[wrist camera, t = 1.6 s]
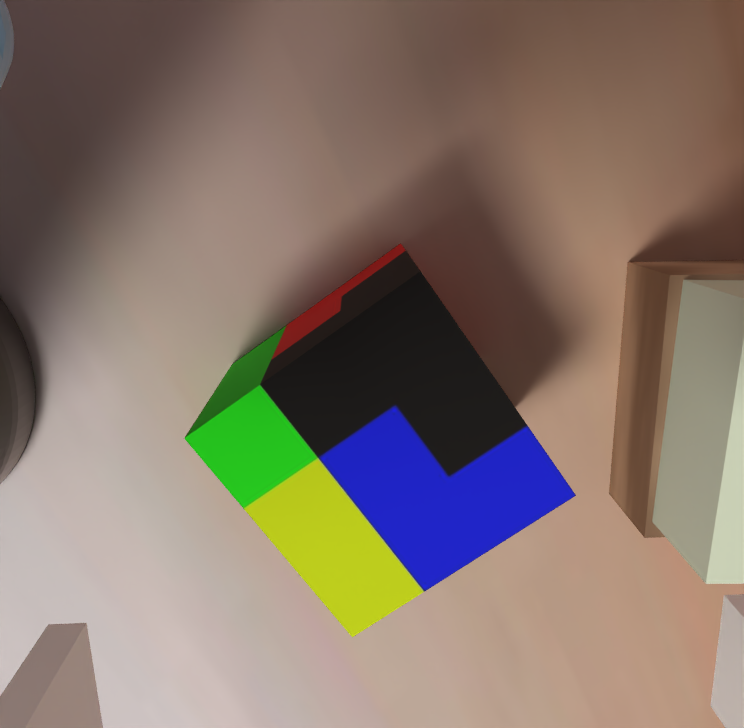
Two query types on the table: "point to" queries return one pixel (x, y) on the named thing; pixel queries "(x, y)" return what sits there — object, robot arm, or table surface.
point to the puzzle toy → (375, 445)
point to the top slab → (706, 434)
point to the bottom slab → (650, 377)
